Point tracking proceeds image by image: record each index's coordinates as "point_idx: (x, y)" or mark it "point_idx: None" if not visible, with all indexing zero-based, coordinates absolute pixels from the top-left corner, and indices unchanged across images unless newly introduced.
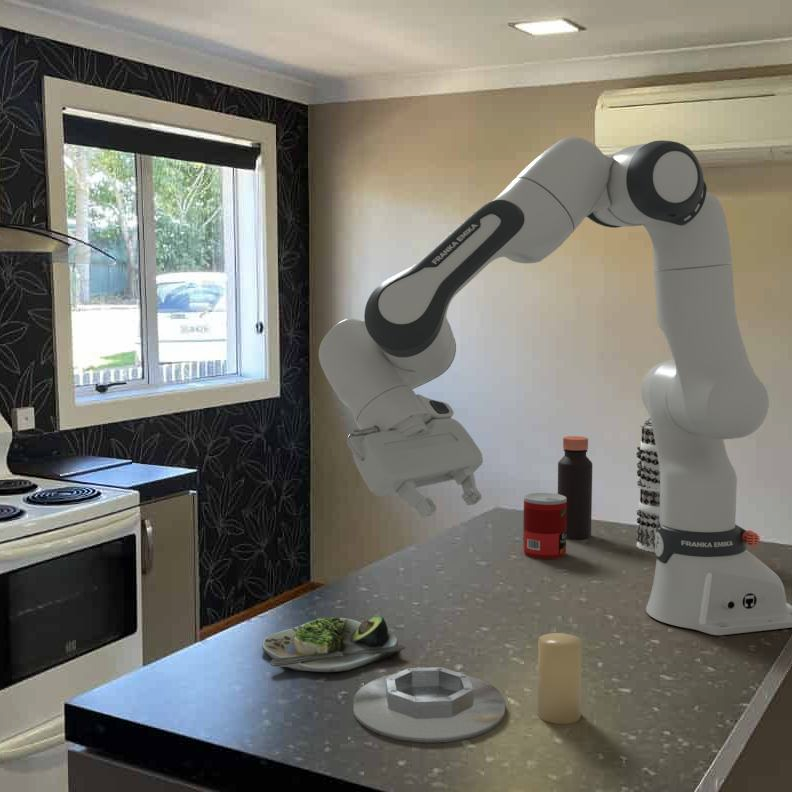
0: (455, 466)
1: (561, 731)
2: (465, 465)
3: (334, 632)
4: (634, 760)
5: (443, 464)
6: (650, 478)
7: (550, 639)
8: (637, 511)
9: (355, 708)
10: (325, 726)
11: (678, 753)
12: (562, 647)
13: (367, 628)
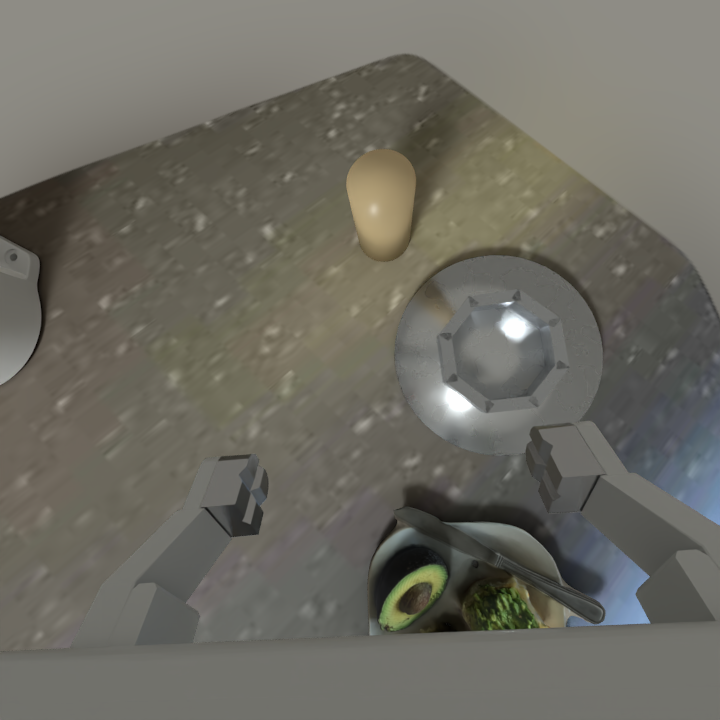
0: (213, 651)
1: (417, 206)
2: (104, 648)
3: (478, 615)
4: (413, 115)
5: (332, 695)
6: None
7: (388, 194)
8: None
9: (592, 400)
10: (635, 404)
11: (366, 97)
12: (402, 159)
13: (424, 586)
